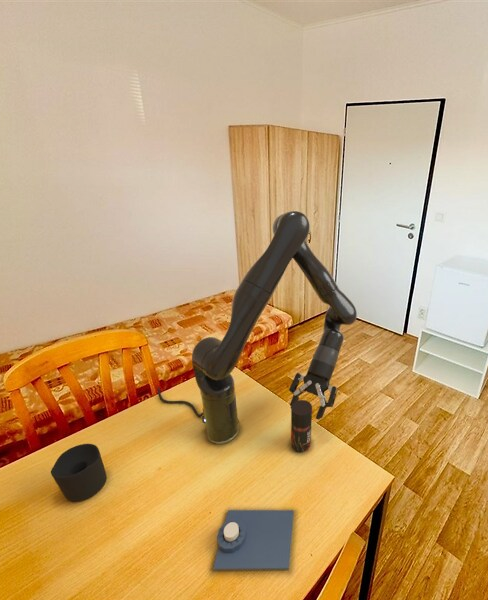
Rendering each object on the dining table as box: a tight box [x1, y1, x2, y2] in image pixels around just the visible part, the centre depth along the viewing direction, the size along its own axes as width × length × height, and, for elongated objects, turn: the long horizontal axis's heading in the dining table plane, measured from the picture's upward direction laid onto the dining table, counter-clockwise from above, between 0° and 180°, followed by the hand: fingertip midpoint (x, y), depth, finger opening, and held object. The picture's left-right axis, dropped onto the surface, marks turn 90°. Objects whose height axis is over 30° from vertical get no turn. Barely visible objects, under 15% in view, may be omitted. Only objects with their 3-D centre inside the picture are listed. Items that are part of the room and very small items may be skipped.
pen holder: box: [50, 443, 108, 503], centre depth 79 cm, size 9×9×10 cm
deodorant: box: [290, 399, 313, 453], centre depth 94 cm, size 6×6×15 cm
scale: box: [212, 509, 294, 572], centre depth 72 cm, size 17×12×2 cm
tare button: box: [224, 522, 239, 542], centre depth 71 cm, size 3×3×2 cm
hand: (304, 413), depth 94 cm, fingers open, 8 cm apart
